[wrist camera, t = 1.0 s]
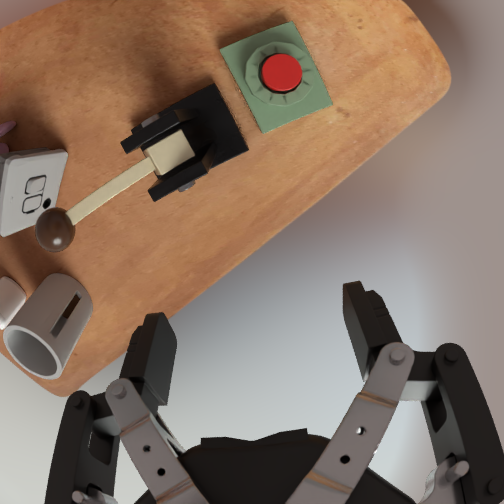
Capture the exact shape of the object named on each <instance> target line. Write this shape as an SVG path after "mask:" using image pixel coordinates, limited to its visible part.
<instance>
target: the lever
mask: <svg viewBox="0 0 504 504" xmlns="http://www.w3.org/2000/svg"><path fill="white" fill-rule="evenodd" d="M143 152H144V154H145V156H146V158H145V159H143V160H141V161H140V162H138V163H137V164H135V165H133V166H132V167H130V168H129V169H127V170H125V171H124V172H122V173H121V174H119V175H118V176H116V177H115V178H113V179H112V180H110V181H109V182H107V183H106V184H104V185H103V186H101V187H100V188H98V189H97V190H96V191H94V192H93V193H91V194H90V195H88V196H87V197H86V198H84V199H83V200H81V201H80V202H79V203H77V204H76V205H75V206H73V207H72V208H71V209H69V210H68V211H66V210H64V209H62V208H58V207H53V208H49V209H47V210H45V211H44V212H43V213H41V215H40V216H39V217H38V219H37V221H36V225H35V236H36V239H37V241H38V243H39V244H40V246H41V247H42V248H44V249H45V250H47V251H49V252H60V251H63V250H64V249H66V248H67V247H68V246H69V245H70V244H71V243H72V241H73V239H74V236H75V224H76V223H77V222H79V221H80V220H81V219H83V218H84V217H85V216H87V215H88V214H90V213H91V212H92V211H94V210H95V209H97V208H98V207H99V206H101V205H102V204H104V203H105V202H107V201H108V200H109V199H111V198H112V197H114V196H115V195H117V194H118V193H120V192H121V191H123V190H124V189H126V188H127V187H129V186H130V185H132V184H133V183H135V182H137V181H138V180H140V179H141V178H143V177H144V176H146V175H148V174H149V173H151V172H152V171H154V172H155V173H156V175H163V174H165V173H167V172H168V171H170V170H171V169H173V168H175V167H176V166H178V165H180V164H181V163H183V162H185V161H187V160H188V159H190V158H192V157H193V156H195V154H194V152H193V150H192V148H191V147H190V145H189V143H188V141H187V139H186V137H185V136H184V134H183V132H182V130H178V131H176V132H175V133H173V134H171V135H169V136H167V137H166V138H164V139H162V140H160V141H159V142H157V143H155V144H153V145H152V146H150V147H148V148H147V149H145V150H144V151H143Z"/></svg>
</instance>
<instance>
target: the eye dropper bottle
mask: <svg viewBox="0 0 504 504" xmlns="http://www.w3.org/2000/svg"><path fill="white" fill-rule="evenodd" d="M25 300H26V293H25V292H24V291H23V289H22V288H21V287H20V286H19V285H18V284H17V283H16V282H15V281H13V280H12V279H10V278H8V277H6V276H4V277H2V278H1V279H0V329H4V328H5V327H6V326H7V325H8V324H9V322H10V321H11V320H12V318H13V317H14V316H15V314H16V313H17V312H18V311H19V309H20V308H21V307H22V306H23V304H24V303H25Z"/></svg>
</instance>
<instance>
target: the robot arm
mask: <svg viewBox="0 0 504 504" xmlns="http://www.w3.org/2000/svg"><path fill="white" fill-rule="evenodd" d="M343 315H344V321H345V324H346V327H347V330H348V333H349V336H350V339H351V343H352V346H353V349H354V352H355V356H356V359H357V362H358V365H359V369H360V372H361V376H362V379H363V382H364V381H366V383H365V385H364V387H363V389H362V390H361V392H360V393H358V394H357V395H356V397H355V398H354V400H353V402H352V404H351V406H350V407H349V409H348V411H347V413H346V415H345V416H344V418H343V420H342V422H341V423H340V425H339V427H338V428H337V430H336V432H335V434H334V435H333V437H332V439H328V438H326V437H322V436H318V435H311V434H308V433H307V428H304V429H298V430H291V431H284V432H279V433H276V434H273V435H270V436H267V437H264V438H261V439H258V440H255V441H248V440H241V439H235V438H229V437H212V438H201V444H200V445H197V446H194V447H192V448H190V449H188V450H187V451H186V450H185V449H183V447H182V446H181V445H180V444H179V442H178V441H177V440H176V438H175V437H174V436H173V434H172V433H171V431H170V430H169V428H168V427H167V426H166V424H165V423H164V421H163V419H162V418H161V416H160V415H159V413H158V412H157V410H158V406H160V405H161V406H162V405H163V406H164V405H167V402H168V396H169V390H170V383H171V377H172V371H173V365H174V359H175V354H176V349H177V339H176V336H175V333H174V331H173V329H172V327H171V326H170V324H169V322H168V320H167V318H166V316H165V314H164V313H163V312H159V313H151V314H147V315H146V316H145V319H144V323H143V326H138V327H137V329H136V330H135V331H134V333H133V334H132V337H131V340H130V343H129V344H130V345H129V346H128V349H127V353H126V356H125V359H124V363H123V366H122V370H121V373H120V376H119V379H117V380H115V381H113V382H112V383H111V384H110V385H109V386H108V387H107V389H106V392H103V393H100V394H97V395H93V396H90V395H89V394H88V393H87V392H85V391H82V390H80V391H76V392H74V393H73V394H71V395H70V396H69V398H68V400H67V402H66V405H65V409H64V412H63V416H62V420H61V424H60V428H59V432H58V436H57V440H56V444H55V449H54V454H53V459H52V463H51V468H50V473H49V478H48V485H47V490H46V497H45V503H44V504H118V502H117V501H116V500H115V499H114V498H113V496H114V484H115V475H116V467H117V457H118V451H119V443H120V439H121V441H122V443H123V445H124V447H125V448H126V450H127V452H128V454H129V456H130V458H131V460H132V462H133V463H134V465H135V467H136V468H137V470H138V472H139V474H140V476H141V477H142V479H143V480H144V482H145V484H146V485H147V487H148V490H147V491H146V492H145V493H144V494H143V495H142V496H141V497H140V498H139V499H138V500H137V501H136V502H135V503H134V504H416V503H415V501H414V500H413V499H412V498H410V497H409V496H408V495H406V494H405V493H403V492H402V491H400V490H399V489H397V488H396V487H395V486H393V485H392V484H390V483H389V482H388V481H386V480H385V479H383V478H382V477H381V476H379V475H378V474H377V473H375V472H374V471H373V470H371V469H370V468H369V467H368V465H369V463H370V462H371V460H372V458H373V456H374V454H375V452H376V450H377V448H378V446H379V444H380V442H381V440H382V438H383V436H384V434H385V432H386V430H387V427H388V425H389V423H390V421H391V419H392V416H393V414H394V412H395V410H396V407H397V405H398V403H399V401H421V404H422V408H423V411H424V415H425V419H426V422H427V426H428V430H429V434H430V437H431V442H432V445H433V450H434V454H435V458H436V463H437V467H436V468H435V469H434V470H432V471H431V473H430V474H429V475H428V477H427V480H426V491H425V494H424V497H423V499H422V500H421V501H420V502H419V503H418V504H499V503H500V502H502V501H503V500H504V453H503V449H502V446H501V443H500V440H499V436H498V433H497V430H496V427H495V424H494V421H493V418H492V416H491V413H490V410H489V407H488V405H487V402H486V399H485V397H484V394H483V392H482V390H481V387H480V384H479V382H478V380H477V377H476V375H475V373H474V370H473V368H472V366H471V363H470V361H469V359H468V357H467V355H466V352H465V351H464V349H463V348H461V347H460V346H459V345H457V344H454V343H445V344H442V345H441V346H439V347H438V348H437V350H436V352H418V351H414V350H412V349H411V348H410V347H409V346H408V345H406V344H404V343H403V342H402V340H401V337H400V335H399V333H398V331H397V329H396V326H395V325H394V322H393V320H392V318H391V316H390V315H389V312H388V309H387V308H386V305H385V303H384V301H383V299H382V297H381V296H380V295H378V294H377V293H376V292H375V291H374V290H371V291H366V292H365V290H364V288H363V286H362V283H361V282H360V281H355V282H350V283H345V284H343ZM91 432H92V433H91ZM90 436H91V439H90ZM89 441H90V444H89Z"/></svg>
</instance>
